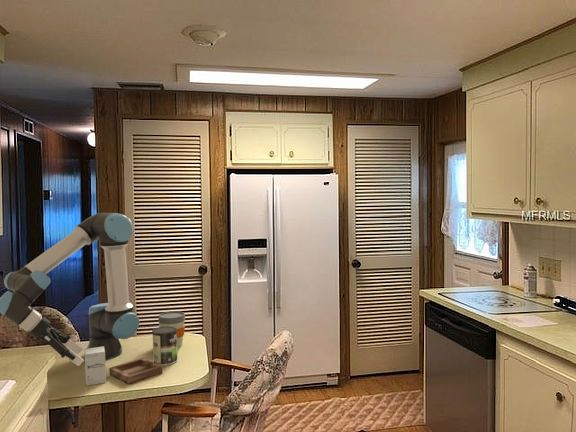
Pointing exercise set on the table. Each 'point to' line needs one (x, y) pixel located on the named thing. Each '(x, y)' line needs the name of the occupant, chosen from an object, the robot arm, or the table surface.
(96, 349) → the supplement box
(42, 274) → the robot arm
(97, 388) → the table surface
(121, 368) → the walnut tray
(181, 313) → the reusable coffee cup
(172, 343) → the coffee can
